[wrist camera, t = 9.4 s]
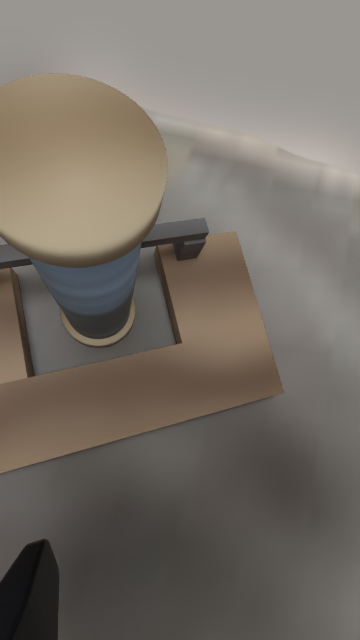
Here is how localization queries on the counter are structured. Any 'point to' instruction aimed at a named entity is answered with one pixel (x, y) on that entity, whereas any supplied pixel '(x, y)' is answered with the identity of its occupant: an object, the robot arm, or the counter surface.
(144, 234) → the spool
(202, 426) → the counter surface
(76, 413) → the board
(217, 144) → the counter surface
